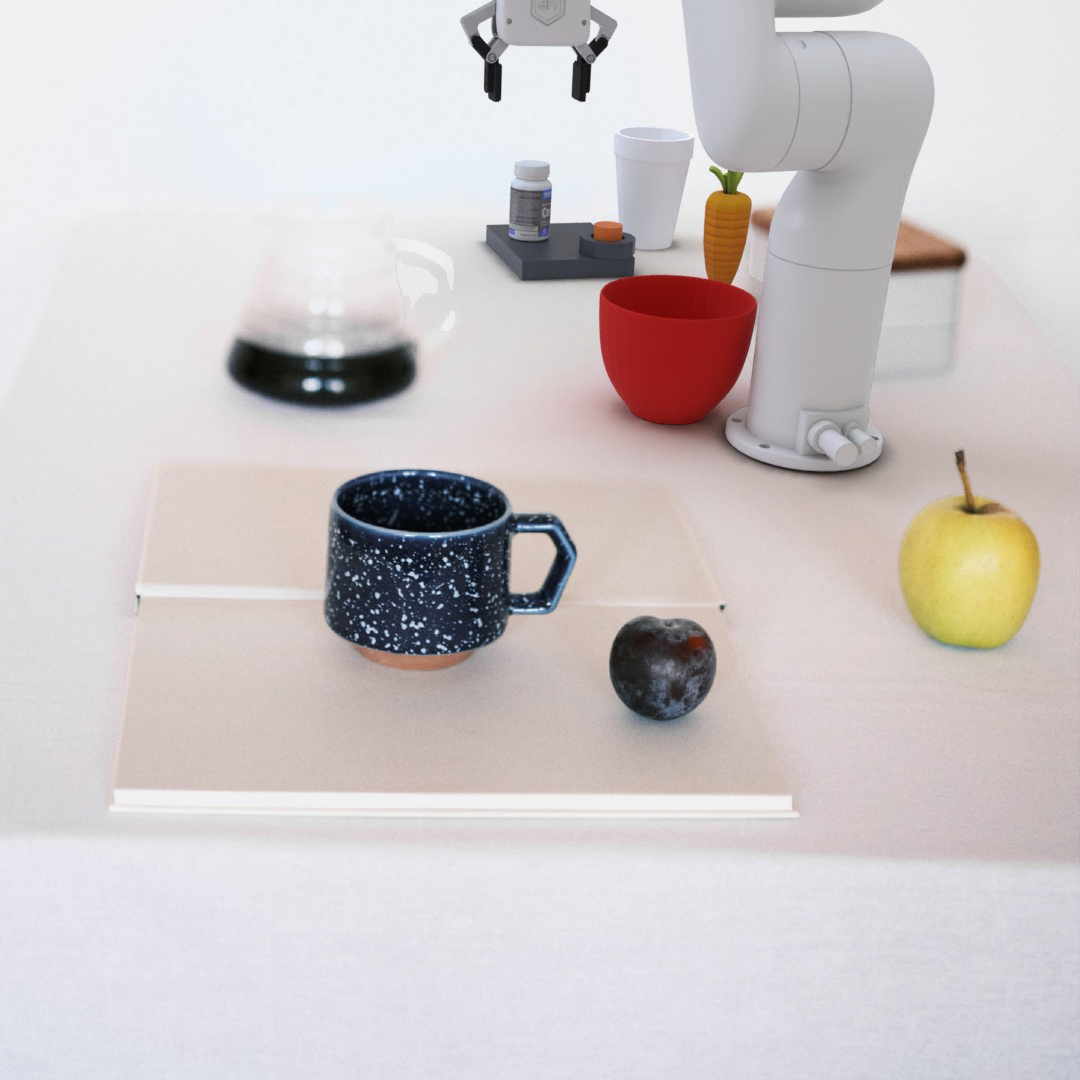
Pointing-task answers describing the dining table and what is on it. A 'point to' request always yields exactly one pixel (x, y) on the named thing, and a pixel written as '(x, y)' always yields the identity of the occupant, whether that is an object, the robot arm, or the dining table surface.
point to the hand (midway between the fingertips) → (536, 100)
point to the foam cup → (651, 181)
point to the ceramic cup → (674, 343)
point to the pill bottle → (530, 201)
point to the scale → (564, 253)
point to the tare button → (608, 231)
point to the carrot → (725, 227)
